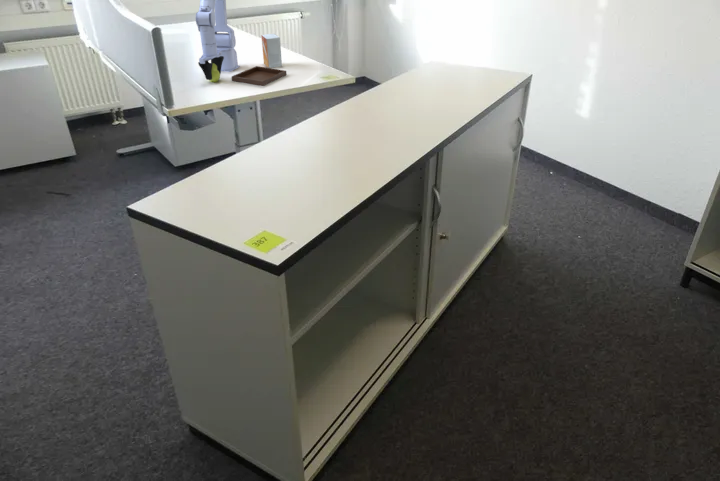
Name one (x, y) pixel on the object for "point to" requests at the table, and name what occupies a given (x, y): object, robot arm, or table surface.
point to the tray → (259, 75)
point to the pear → (215, 73)
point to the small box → (271, 50)
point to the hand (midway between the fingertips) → (213, 76)
